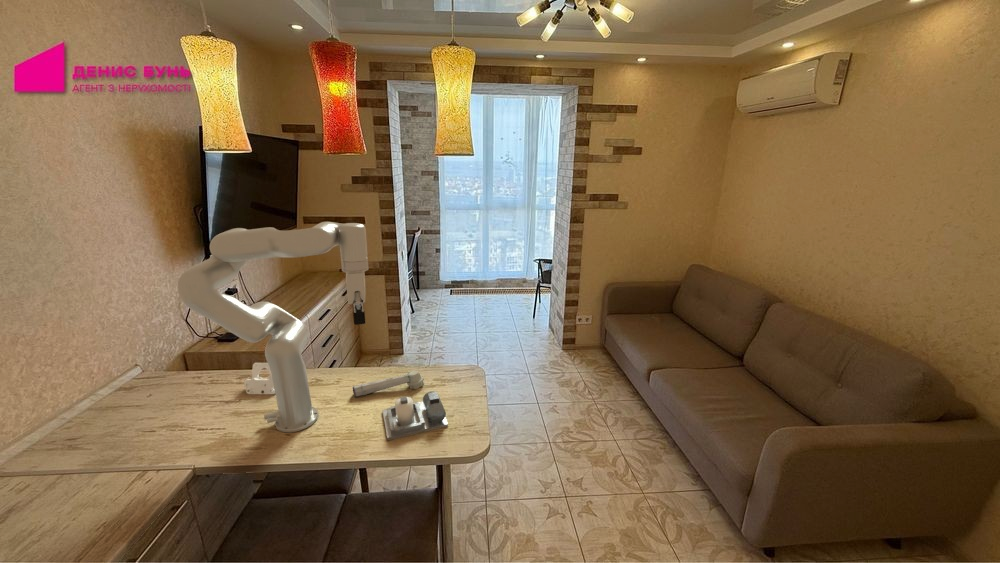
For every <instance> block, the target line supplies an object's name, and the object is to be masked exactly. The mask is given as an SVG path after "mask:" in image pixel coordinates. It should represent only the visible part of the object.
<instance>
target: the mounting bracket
mask: <svg viewBox="0 0 1000 563" xmlns="http://www.w3.org/2000/svg"><path fill="white" fill-rule="evenodd" d="M263 369H266V370H268V372H269V374H268V378H265V377H264V378H263V377H262V376H260V375H259V374H260V372H261V371H262V370H263ZM243 383H244V388H245V392H246V394H248V395H276V394H275V389H274V384H273V379H272V374H271V370H270V367H269V364H268V362H254V363H253V364H252V371H251V378H249V379H245V380H243Z"/></svg>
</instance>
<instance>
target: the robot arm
mask: <svg viewBox="0 0 1000 563" xmlns="http://www.w3.org/2000/svg"><path fill="white" fill-rule="evenodd" d="M336 246H339V251H340V254H339V255H340V263H341V272H343V273H345V281H346V282H345V285H346V294H347V304H348V305H349V306H351V305H352V316H353V324H354V326H355V325H356V326H359V325H365V324H366V315H365V314H366V312H365V310H364V309H365V308H364V307H365V306H364V305H365V303H366V276H365V272H367V271H369V258H368V257H369V256H368V255H369V254H368V242H367V229H366V225H364V224H362V223H359V222H358V223H357V222H346V223H339V222H333V221H322V222H319V223H318V224H316V225H313V226H312V227H308V228H301V229H291V230H282V229H281V230H279V229H277V228H275V227H273V226H272V227H270V226H269V227H267V226H266V227H260V228H252V229H247V228H243V227H236V228H231V229H228V230H225V231H224V232H221V233H219V234H216V235H215V236H214V237H213V238H212V239H211V240H210V243H209V250H210V254H211V256H210V257H209V258H208V259H206V260H203V261H201V262H198V263H196V264H195V265H194V264H193V265H192V266H190V267H188V268H187V269H186V270H184V271H183V272H182V273H181V274H180V277H179V278H178V280H177V286H176V287H177V288H176V289H177V294H178V296H179V298H180V300H181V301H182V303H183V304H184V305H185V306H186V308H187V307H188V308H189V309H190V310H191V311H193V312H195V313H197V314H199V315H200V316H203V317H204V318H206V319H208V320H210V321H212V322H214V323H215V324H216V325H219V326H220V327H221V328H223V329H225V330H226V331H228V332H230V333H231V334H233V335H234V336H236V337H237V338H239V339H241V340H243V341H246V342H248V343H252V344H253V343H258V342H260V341H263V340H264V338H266V337H267V336H268V335H271V337H270V338H269V340H268V341H267V343H266V345H265V349H264V356H265V359H266V360H265V361H266V363H268V364H269V367H270V370H271V374H272V379H273V384H274V389H275V394H274V395H275V400H276V404H277V409H278V410H275V411H273V412H267V413H264V414H263V419H264V420H265V421H267V423H268V424H269V423H274V425H275V428H276V429H277V430H278V431H279V432H281V433H282V432H283V433H295V432H299V431H303V430H305V429H307V428H308V427H311V426H312V425H313V424H314V423H315V422H316V421H317V420H318V418H319V411H318V409H317V408H316V407H313V406H312V399H311V398H312V397H311V392H310V386H309V380H308V379H309V378H308V373H307V367H306V364H305V361H304V358H303V357H302V352H303V350H304V348H305V346H306V344H307V343H308V341H309V339H310V332H311V331H310V329H309V326H307V325H306V324H305V323H304V322H303V321H301V320H300V319H298V318H297V317H295V316H294V315H292V314H290V313H289V312H287V311H286V310H284V309H283V308H282V307H280V306H278V305H276V304H275V303H272V302H269V301H259V302H255V303H253V304H251V305H247V304H246V303H243V302H242V301H241V300H239V299H238V298H236V297H234V296H232V295H229V294H226V293H222V292H220V291H219V290H218V289H220V288H222V287H224V286H225V285H226V284H229V283H230V282H231V281H233V280H234V278H235V277H236V276H237V275H238V274H239V273H240V271H241V270H242V269H243V267H244V266H245V265H246V263H247V262H248V261H253V260H262V259H269V258H302V257H303V258H304V257H309V256H317V255H322V254H326V253H328V252H330V251H331V250H332V249H333V248H334V247H336Z"/></svg>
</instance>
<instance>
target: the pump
mask: <svg viewBox="0 0 1000 563" xmlns="http://www.w3.org/2000/svg"><path fill="white" fill-rule="evenodd" d="M413 402H414V400H413V398H411V397H410V396H402V397H400V398H398V399H396V400H395V402H394V406H395V409H396V421H397V424H398V425H400V426H406V425H410V424H412V423H413V421H414V410H413Z"/></svg>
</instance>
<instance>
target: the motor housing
mask: <svg viewBox="0 0 1000 563" xmlns="http://www.w3.org/2000/svg"><path fill="white" fill-rule="evenodd" d="M413 410H414V421H413V423H412V424H410V425H406V426H400V425H398V424H397V421H396V409H395V405H392V406H390V407H387V408H384V409H382V415H383V423H384V427H385V435H386V438H387V441H392V440H396V439H400V438H404V437H409V436H413V435H418V434H422V433H425V432H430V431H433V430H434V431H435V430H438V429H442V428H446V427H447V428H448V427H449V424H448V420H447V418H446V414H447V412H446V409H445V408H444V406H443V403H442V400H441V398H440V396H439V394H438V392H437V391H433V390H432V391H429V392H426V393H425V394H424V395H423V397H422V401H416V402H415V401H413Z"/></svg>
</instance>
